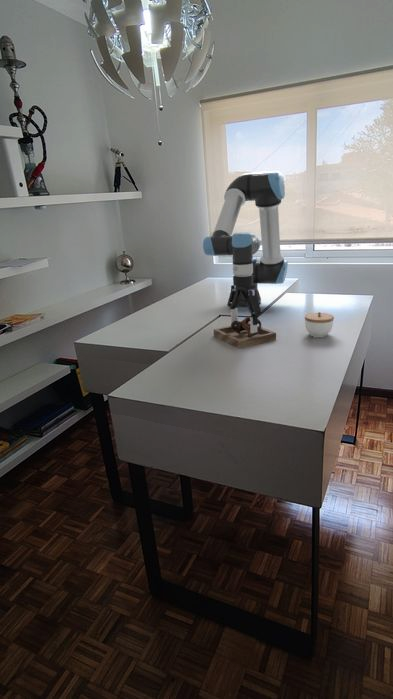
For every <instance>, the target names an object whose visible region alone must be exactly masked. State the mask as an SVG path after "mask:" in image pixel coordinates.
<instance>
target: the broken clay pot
mask: <svg viewBox="0 0 393 699" xmlns="http://www.w3.org/2000/svg"><path fill="white" fill-rule="evenodd" d="M248 322H249V323H250V316H245V318H244V319H242V320H241V321H239V320H238V321H233V322H232V324H231V325H230V326H231V327H232V329H233V330H234V331H236V332H237V333H238V334H239V333H240V332H241V331H244V330H246V331H248V332H249V333H248V335H247V337H248V338H250V337H252V336H254V335H256V334H258V333H260V331H261V327H262V322H261V320H260V319H258V324H257V325H258V326H259V327H257V332H256V333H250V326H248V325H247V324H248ZM235 325H237V327H235Z"/></svg>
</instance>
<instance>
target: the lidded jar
mask: <svg viewBox="0 0 393 699" xmlns="http://www.w3.org/2000/svg"><path fill="white" fill-rule="evenodd" d="M334 319H335V316H334V315H333V314H331V313H326V312H322V311H317V312H310V313H307V314H306V315H305V316H304V321H305V322H304V324H305V325H304V326H305V329H306V331H307V333H308V334H309V335H310V336H311V337H312V336H313V338H318V337H321V338H325V336H326V335H329V334H330V332H331V331H332V329H333V325H334ZM326 337H327V336H326Z"/></svg>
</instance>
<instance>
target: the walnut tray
mask: <svg viewBox="0 0 393 699" xmlns="http://www.w3.org/2000/svg"><path fill="white" fill-rule="evenodd" d="M247 325H248V326H250V322H248V324H247ZM235 327H237V325H235ZM257 327H259V325H257ZM248 333H249V332H248V331H246V330H244V331H241V332H240V333H239V334H238V333H237V332H236V331H234V330H233V329H232V327H231V325H228V326H223V327H219V328H214V329H213V337H215V338H217V339H219V340H221V341H224V342H225V343H227V344H229V345H231V346H233V347H235V348H237V349H239V350H240V349H244V348H248V347H253V346H256V345H260V344H264V343H269V342H272V341H276V340H277V332H275V331H272V330H269V329H268V328H265V327H263V326H261V331H260V333H258V334H256V335H254V336H252V337H250V338H248V337H247V335H248Z"/></svg>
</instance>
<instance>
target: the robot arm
mask: <svg viewBox="0 0 393 699" xmlns="http://www.w3.org/2000/svg"><path fill="white" fill-rule="evenodd" d="M285 189H286V188H285V181H284V177H283V175H282V173H281V172H280V171H276V170H273V171H272V170H268V171H267V170H266V171H260V172H259V171H258V172H248V173H244V174H241V175H239V176H237V178H234V179H233V181H231V183H230V184H229V185H228V187H227V188H226V190H225V192H224V195H223V196H224V197H223V199H224V202H223V204H222V207H221V209H220V210H221V211H220V214H219V215H218V216H219V217H218V218H217V221H216V224H215V227H214V230H213V232H212V234H211V235H209V236H206V237H204V239H203V240H202V241H203V242H202V248H203V253H204V254H205V255H206V256H211V257H212V256H213V257H220V256H223V257H224V256H232V274H233V276H232V281H233V282H232V285H230V293H229V297H228V300H227V308H228V307H229V309H230V323H231V324H232V322H233V321H239V319H238V318H239V313H238V310H239V309H238V307H247V308H248V310H249V313H250V316H249V317H250V322H249V323H250V333H256V332H257V326H258V325H259V324H258V320H259V319H258V318H259V316H262V309H261V306H260V304H262V296H261V295H260V292H259V288H258V285H259V284H260V285H261V284H262V285H263V284H264V285H266V284H267V285H268V284H269V285H277V284H278V285H281V284H284V282H285V281H286V277H287V274H288V264H289V262H288V260H286V259H284V258H285V256H284V254H282V253H281V236H280V221H279V220H280V219H279V218H280V216H279V206H280V205H281V203H282V200H283V199H284V198H285V195H286V194H285V193H286V192H285V191H286V190H285ZM247 201H248V202H253V201H254V202H255V203H254V205H255V206H256V208H258V211H259V213H258V214H259V223H260V226H259V227H260V235H261V236H260V238H261V241H260V238H259V237H258V236H256V235H255V234H252V232H249V231H246V232H245V231H244V232H235V233H233V231H234V229H235V225H236V223H237V219H238V216H239V214H240V210H241V208H242V207H243V206H244V205H245V203H246V202H247ZM260 248H261V249H262V255H261V257H260V258H259V259H258V257H257V256H254V255H255V254H256V253H257V252H258V251H259V249H260ZM253 256H254V257H253ZM259 303H260V304H259Z"/></svg>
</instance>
